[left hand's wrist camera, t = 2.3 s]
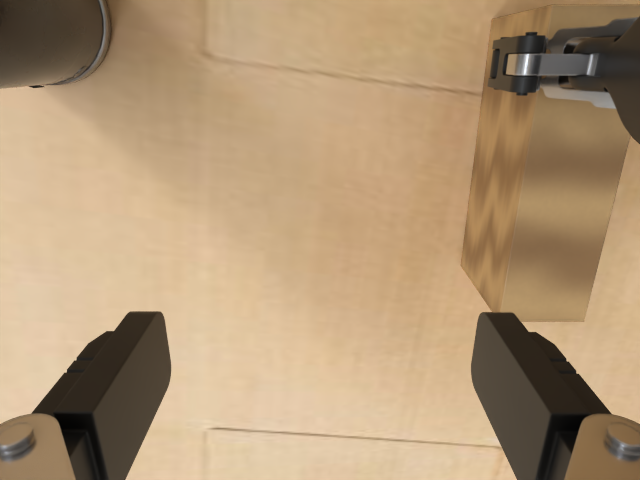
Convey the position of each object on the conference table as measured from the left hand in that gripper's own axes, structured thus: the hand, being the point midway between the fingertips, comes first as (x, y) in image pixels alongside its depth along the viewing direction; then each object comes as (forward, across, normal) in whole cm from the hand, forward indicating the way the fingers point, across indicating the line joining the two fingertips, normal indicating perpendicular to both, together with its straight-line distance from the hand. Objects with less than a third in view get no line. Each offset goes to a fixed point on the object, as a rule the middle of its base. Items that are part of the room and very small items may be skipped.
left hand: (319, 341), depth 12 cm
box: (+27, -16, 0) cm, 31 cm away
